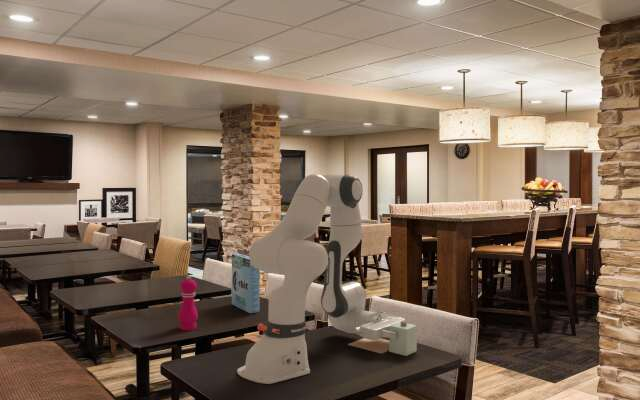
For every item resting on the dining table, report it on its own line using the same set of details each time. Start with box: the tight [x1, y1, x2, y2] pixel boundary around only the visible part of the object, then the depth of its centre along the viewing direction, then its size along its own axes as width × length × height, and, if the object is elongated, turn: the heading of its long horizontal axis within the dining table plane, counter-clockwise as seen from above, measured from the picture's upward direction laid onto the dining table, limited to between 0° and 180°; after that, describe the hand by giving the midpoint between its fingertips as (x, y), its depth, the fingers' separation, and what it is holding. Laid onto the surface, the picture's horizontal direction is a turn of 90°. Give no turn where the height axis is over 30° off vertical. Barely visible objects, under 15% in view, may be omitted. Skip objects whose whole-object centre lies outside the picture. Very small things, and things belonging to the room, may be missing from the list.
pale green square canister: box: [388, 320, 418, 357], centre depth 182 cm, size 7×7×10 cm
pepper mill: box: [177, 274, 199, 331], centre depth 204 cm, size 7×7×20 cm
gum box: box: [231, 252, 261, 314], centre depth 237 cm, size 20×5×23 cm, turn 32°
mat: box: [347, 337, 390, 354], centre depth 189 cm, size 14×14×1 cm
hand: (403, 332), depth 182 cm, fingers open, 8 cm apart
